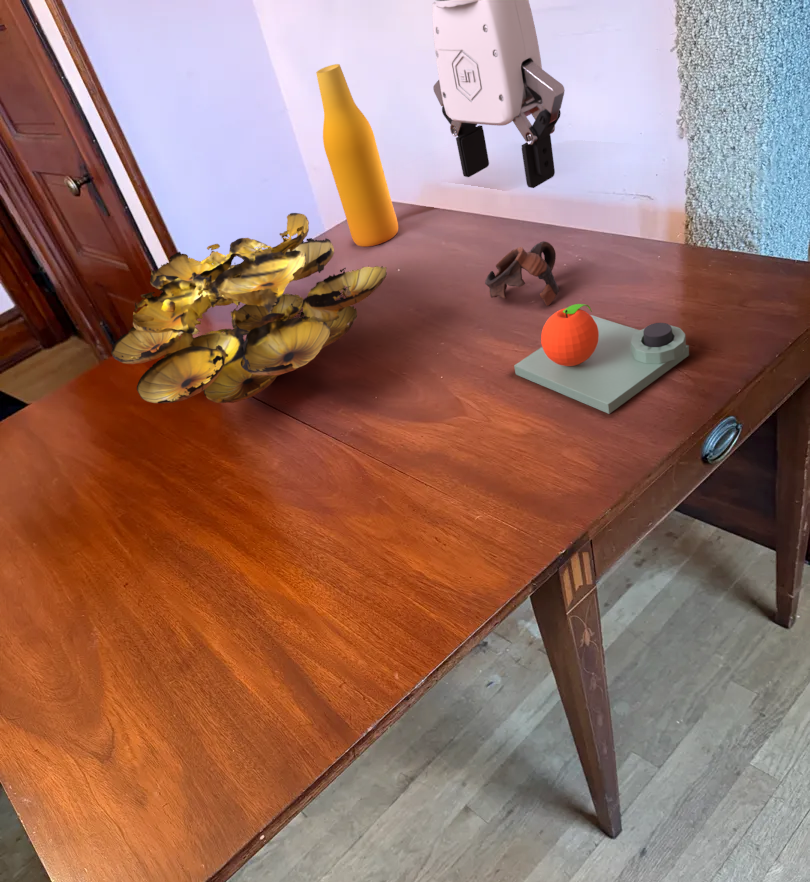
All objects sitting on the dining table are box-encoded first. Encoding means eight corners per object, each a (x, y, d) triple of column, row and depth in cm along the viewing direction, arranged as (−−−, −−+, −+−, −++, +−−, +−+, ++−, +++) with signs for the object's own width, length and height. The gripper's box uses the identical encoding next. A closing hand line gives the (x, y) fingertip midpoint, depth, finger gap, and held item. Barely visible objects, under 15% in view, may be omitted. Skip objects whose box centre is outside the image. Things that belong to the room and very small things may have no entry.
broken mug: (543, 320, 107) (506, 277, 103) (505, 333, 115) (469, 294, 112) (584, 260, 110) (549, 217, 106) (543, 278, 118) (510, 238, 115)
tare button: (677, 338, 89) (677, 326, 88) (659, 350, 88) (659, 339, 87) (656, 331, 92) (655, 320, 91) (638, 344, 91) (637, 332, 90)
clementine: (572, 337, 98) (566, 287, 93) (617, 348, 93) (613, 296, 89) (533, 369, 95) (525, 319, 90) (578, 382, 90) (571, 330, 86)
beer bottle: (347, 250, 143) (294, 83, 124) (361, 229, 149) (312, 66, 130) (392, 243, 140) (344, 70, 120) (404, 222, 146) (360, 54, 127)
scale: (695, 354, 91) (696, 332, 89) (612, 415, 86) (610, 394, 84) (593, 321, 102) (591, 301, 100) (515, 374, 98) (511, 354, 96)
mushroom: (340, 273, 136) (307, 176, 125) (447, 368, 103) (416, 247, 91) (131, 368, 131) (76, 275, 119) (173, 500, 98) (103, 389, 86)
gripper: (384, -6, 69) (428, 182, 81) (510, -20, 57) (540, 203, 69) (446, -33, 71) (480, 154, 83) (579, -52, 60) (597, 170, 71)
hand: (507, 176), depth 76 cm, fingers open, 9 cm apart
